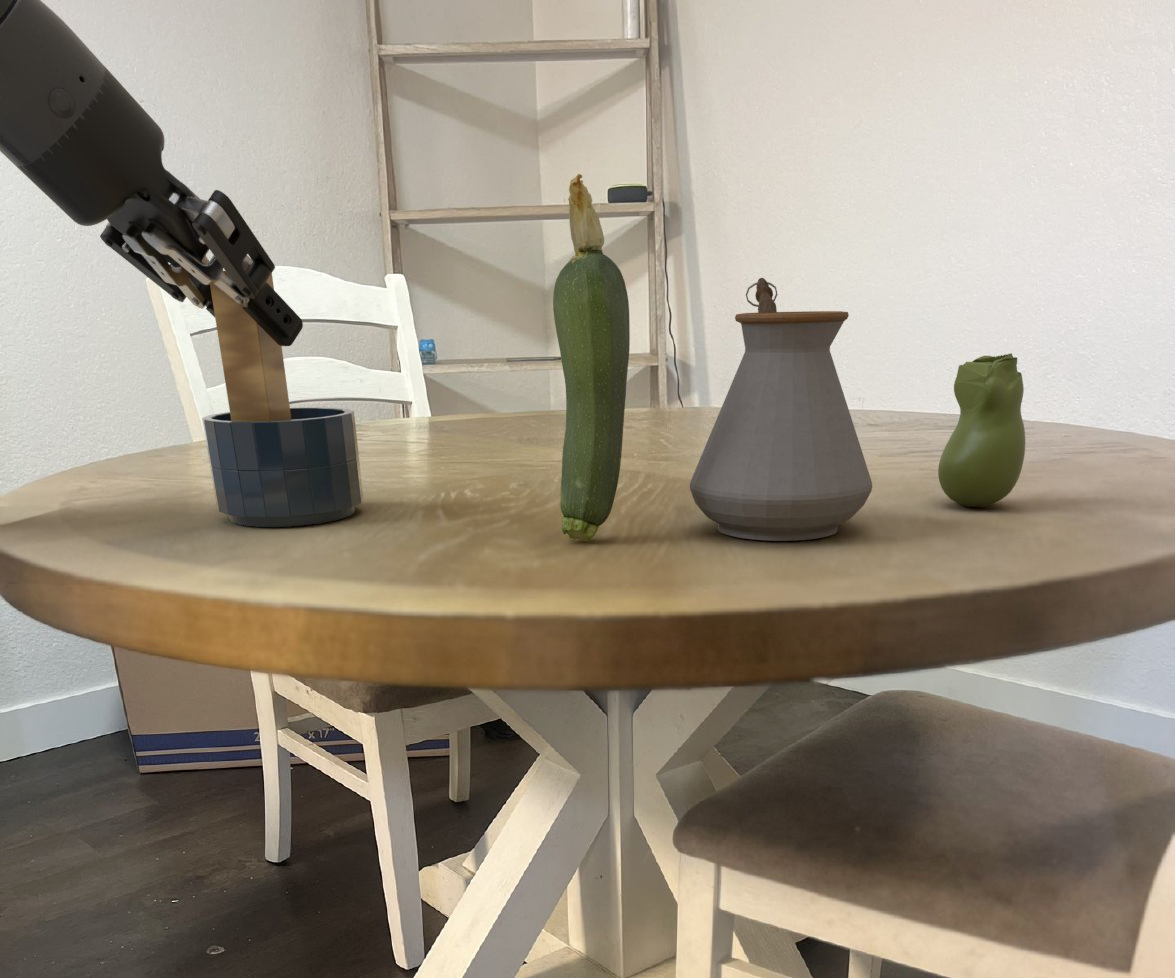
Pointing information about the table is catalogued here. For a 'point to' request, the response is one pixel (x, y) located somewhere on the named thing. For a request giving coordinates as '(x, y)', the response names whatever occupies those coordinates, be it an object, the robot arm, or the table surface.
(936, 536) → the table surface
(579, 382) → the vegetable
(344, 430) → the bowl
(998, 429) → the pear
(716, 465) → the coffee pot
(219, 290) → the long rectangular wooden block
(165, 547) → the table surface
